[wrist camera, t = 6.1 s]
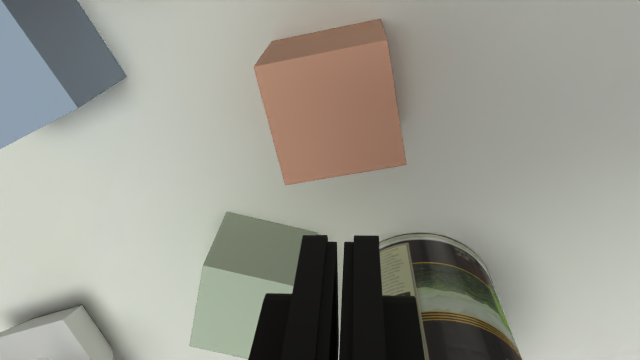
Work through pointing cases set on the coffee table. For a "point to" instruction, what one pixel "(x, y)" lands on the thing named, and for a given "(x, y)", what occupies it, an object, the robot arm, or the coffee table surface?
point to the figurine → (56, 338)
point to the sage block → (242, 281)
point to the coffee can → (448, 297)
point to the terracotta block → (331, 102)
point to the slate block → (48, 64)
